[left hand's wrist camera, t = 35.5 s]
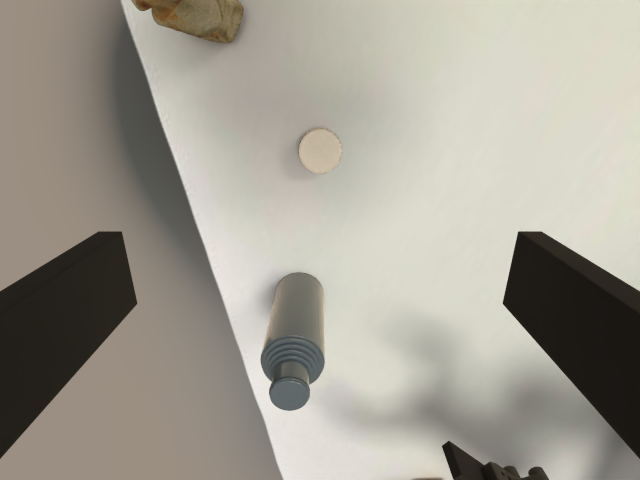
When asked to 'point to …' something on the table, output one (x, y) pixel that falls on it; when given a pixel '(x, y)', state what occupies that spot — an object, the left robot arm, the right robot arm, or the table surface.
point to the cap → (320, 150)
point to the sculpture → (197, 17)
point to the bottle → (294, 340)
